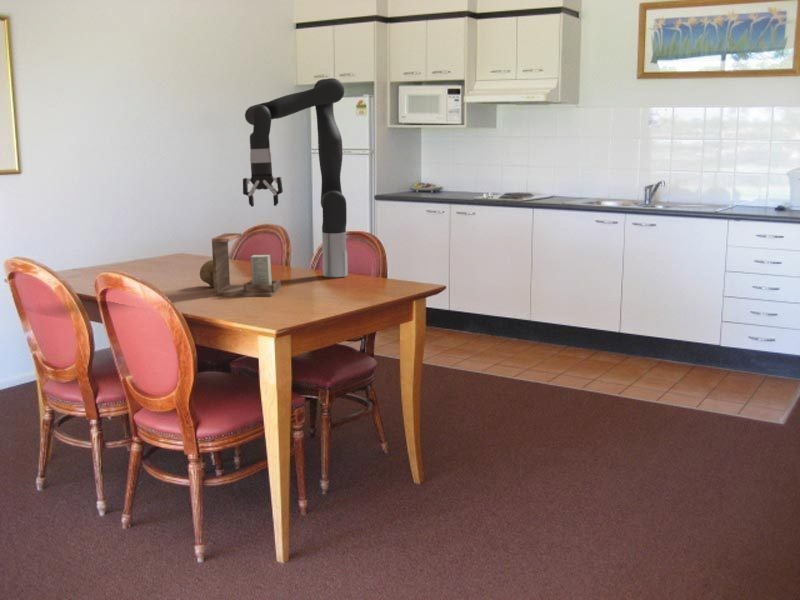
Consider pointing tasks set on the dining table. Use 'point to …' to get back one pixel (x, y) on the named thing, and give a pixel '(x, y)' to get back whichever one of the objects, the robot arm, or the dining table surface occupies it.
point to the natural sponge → (207, 273)
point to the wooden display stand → (222, 272)
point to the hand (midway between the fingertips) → (263, 206)
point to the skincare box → (261, 270)
